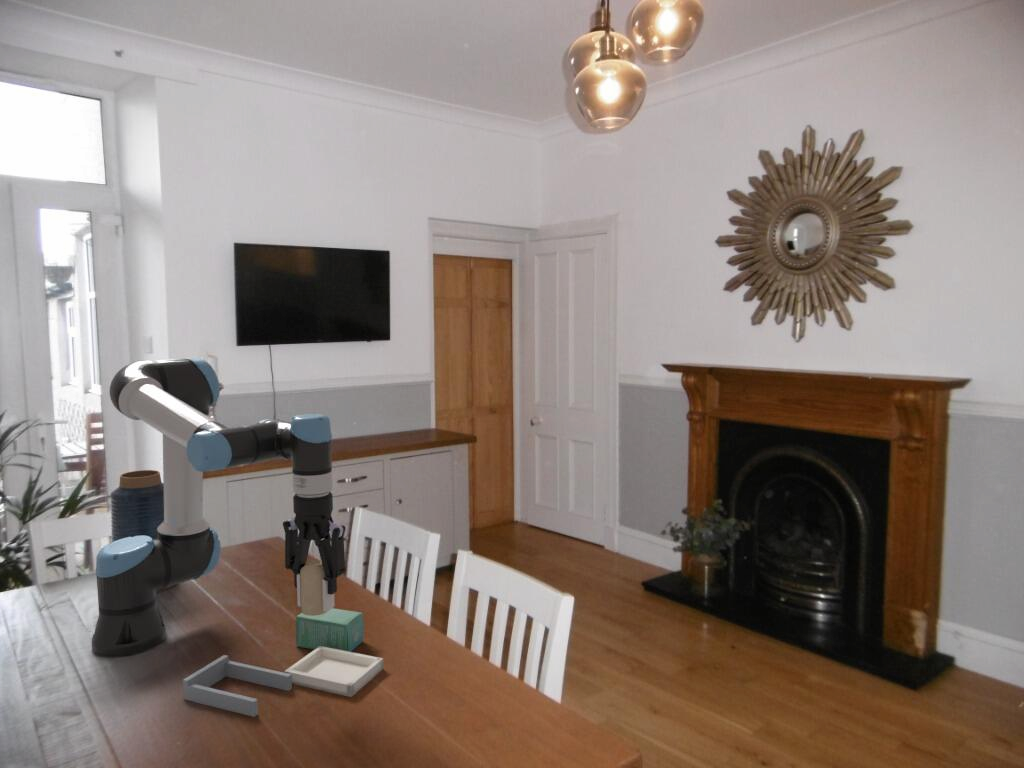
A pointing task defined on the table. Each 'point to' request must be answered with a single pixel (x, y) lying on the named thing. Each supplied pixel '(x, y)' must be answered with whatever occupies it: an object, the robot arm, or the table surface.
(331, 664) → the tray
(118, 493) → the vase
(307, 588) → the candle
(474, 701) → the table surface
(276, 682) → the bracket
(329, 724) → the table surface
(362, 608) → the table surface
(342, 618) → the box
